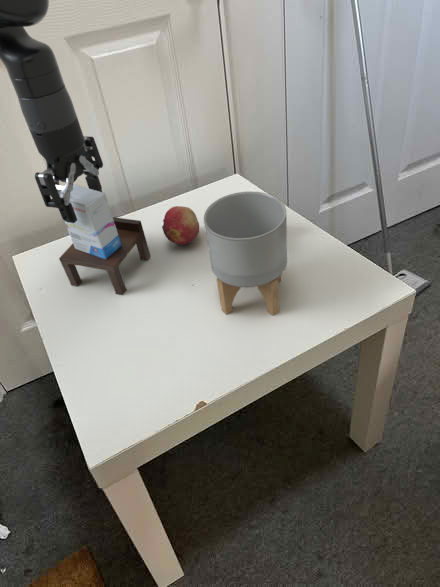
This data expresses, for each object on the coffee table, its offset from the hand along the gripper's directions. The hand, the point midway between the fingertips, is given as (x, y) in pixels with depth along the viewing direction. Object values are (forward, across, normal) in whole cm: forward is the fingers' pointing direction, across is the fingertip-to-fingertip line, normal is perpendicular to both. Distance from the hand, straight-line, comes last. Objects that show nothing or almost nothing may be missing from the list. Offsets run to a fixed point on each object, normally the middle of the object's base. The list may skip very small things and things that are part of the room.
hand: (84, 207), depth 82 cm
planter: (+16, -1, +30) cm, 34 cm away
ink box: (+9, 0, 0) cm, 9 cm away
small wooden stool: (+16, -1, 0) cm, 16 cm away
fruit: (+16, -13, +11) cm, 23 cm away
